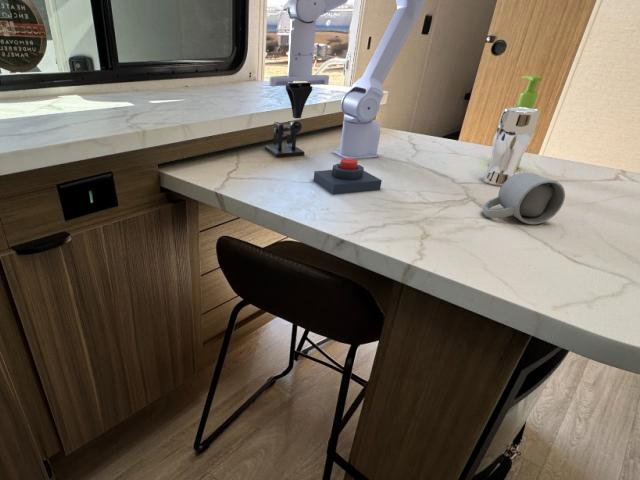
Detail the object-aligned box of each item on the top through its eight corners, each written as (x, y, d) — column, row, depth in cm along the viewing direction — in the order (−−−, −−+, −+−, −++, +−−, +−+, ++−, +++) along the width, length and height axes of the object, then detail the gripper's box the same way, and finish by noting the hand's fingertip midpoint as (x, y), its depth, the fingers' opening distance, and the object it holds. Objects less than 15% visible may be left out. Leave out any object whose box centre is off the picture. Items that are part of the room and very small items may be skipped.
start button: (351, 166, 91) (352, 157, 90) (359, 170, 88) (360, 162, 87) (336, 167, 90) (337, 159, 89) (344, 171, 87) (345, 163, 86)
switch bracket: (304, 156, 112) (306, 125, 108) (276, 158, 111) (277, 127, 106) (290, 147, 120) (292, 119, 116) (264, 149, 119) (265, 120, 114)
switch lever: (304, 132, 104) (303, 120, 103) (293, 133, 104) (292, 120, 103) (288, 136, 114) (288, 124, 113) (278, 136, 114) (277, 124, 113)
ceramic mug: (527, 207, 79) (543, 167, 75) (555, 224, 72) (574, 181, 68) (472, 209, 79) (484, 168, 75) (495, 225, 72) (509, 182, 68)
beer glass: (521, 186, 90) (549, 112, 82) (489, 186, 90) (513, 112, 82) (505, 177, 96) (529, 106, 88) (474, 177, 96) (496, 106, 88)
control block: (357, 177, 96) (359, 159, 94) (380, 190, 88) (383, 171, 86) (313, 180, 94) (315, 163, 92) (333, 195, 86) (335, 175, 84)
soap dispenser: (509, 163, 106) (540, 74, 95) (521, 170, 100) (556, 77, 89) (485, 162, 107) (513, 74, 96) (496, 170, 101) (527, 77, 90)
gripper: (322, 53, 101) (316, 113, 109) (266, 54, 98) (264, 116, 105) (335, 54, 95) (328, 118, 103) (276, 55, 92) (273, 121, 100)
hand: (296, 117), depth 104 cm, fingers closed
